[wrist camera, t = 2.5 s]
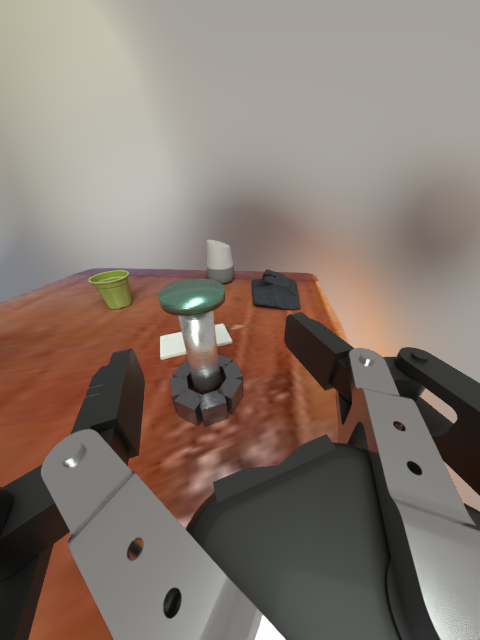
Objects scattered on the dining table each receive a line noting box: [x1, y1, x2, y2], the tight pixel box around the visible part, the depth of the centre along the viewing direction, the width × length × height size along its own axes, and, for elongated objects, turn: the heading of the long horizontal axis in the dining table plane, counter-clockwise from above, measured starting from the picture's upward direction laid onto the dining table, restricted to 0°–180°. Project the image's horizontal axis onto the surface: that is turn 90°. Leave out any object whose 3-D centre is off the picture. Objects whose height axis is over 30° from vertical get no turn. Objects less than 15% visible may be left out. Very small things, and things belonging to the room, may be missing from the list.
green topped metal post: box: [158, 279, 225, 395], centre depth 26 cm, size 7×7×17 cm
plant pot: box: [89, 270, 132, 309], centre depth 55 cm, size 9×9×9 cm
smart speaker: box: [207, 240, 234, 284], centre depth 68 cm, size 10×9×14 cm
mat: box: [160, 324, 232, 360], centre depth 42 cm, size 14×7×1 cm, turn 109°
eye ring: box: [170, 354, 243, 426], centre depth 30 cm, size 10×10×4 cm
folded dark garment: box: [252, 270, 301, 310], centre depth 60 cm, size 15×22×5 cm
